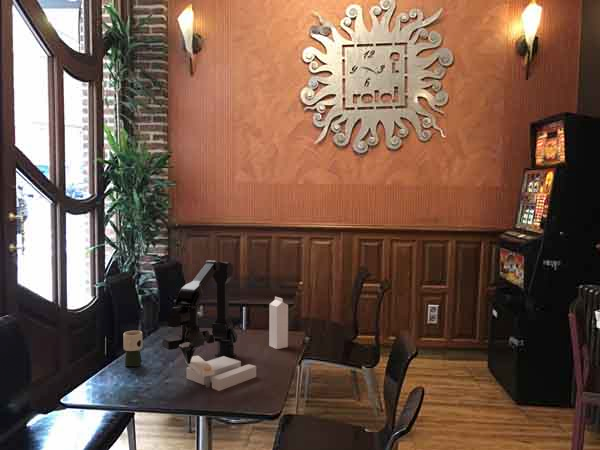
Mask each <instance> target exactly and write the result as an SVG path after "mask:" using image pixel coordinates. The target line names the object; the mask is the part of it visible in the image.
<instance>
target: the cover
mask: <svg viewBox="0 0 600 450" xmlns="http://www.w3.org/2000/svg"><path fill="white" fill-rule="evenodd" d="M184 360H185V359H184ZM185 363H186V364H187V362H186V360H185ZM187 366H188V367H191V368H192V369H194V370H195V371H196V372H197V373H198V374H199V375H200V376H201V375H202V376H203V377H206V376H211V375H215V370H214V368H213V367H212V366H211V365H209V364H208V363H207V362H206V361H205V360H204V359H203V358H202V357H201V356H199V355H193V356H192V359H191V361H190V364H187Z"/></svg>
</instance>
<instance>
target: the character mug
mask: <svg viewBox="0 0 600 450" xmlns="http://www.w3.org/2000/svg"><path fill="white" fill-rule="evenodd" d="M122 336H123V337H122V338H123V344H122V345H123V350H124V351H126V353H125V359H124V360H125V361H124V365H125V366H129V367H138V366H141V365H142V362H143V361H142V354H141V351H140V350H141V349H143V331H140V330H129V331H125V332H124V333H123V335H122Z"/></svg>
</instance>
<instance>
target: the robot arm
mask: <svg viewBox="0 0 600 450" xmlns="http://www.w3.org/2000/svg"><path fill="white" fill-rule="evenodd" d="M233 273H234V266H233V264H232V263H231V262H230V261H218V260H210V259H209V260H205V262H204V266H203V267H202V268H201V269H200V270H199V272H198V273H197V274H196V276H195V277H194V279H192V281H190V282H188V283H186V284H184V285H183V286H182V287H181V288H180V289H179V292H178V293H177V296H176V299H175V302H174V304H173V307H171V311H169V313H168V314H167V316H166V321H167V324H168V325H169V326H170V327H171V328H178V327H180V328H181V329H180V331H181V332H180V334H179V335H178V336H179V338H178V339H176V338H175V337H167V338H163V339H162V342H161V347H163V348H165V349H166V350H170V351H172V350H177V349H180V350H181V353H182V355H183V357H184V360H186V362H187V363H186V362H185V363H186V364H187V365H188V364H190V361H191V359H192V356H194V353H195V351H196V350H197V349H199V348H200V347H201V346H204V345H205V343H206V344H214V343H215V342H217V353H214V356H215V357H217V358H219V357H222V356H225V357H228V358H231V357H234V356H237V354H236V353H234V351H235V348H234V347H235V346H234V344H235V343H237V341H238V334H237V333H236V331H235V329H234V322H233V321H232V320H231V319H230V311H229V310H230V306H229V305H230V303H229V302H230V301H229V300H230V298H229V295H230V294H229V291H230V290H229V285H230V284H229V283H230V281H231V279H232V278H233ZM211 278H212V279H213V281H214V282H215V284H216V320H215V321H214V322H213V323H212V324H211V329H212V330H211V332H210V331H209V330H200V325H199V324H198V316H199V315H198V309H199V308H201V304H200V301H201V299H202V298H203V296H204V294H203V293H204V292H203V290H204V288H205V287H206V286H207V285H208V283H209V282H210V280H211Z"/></svg>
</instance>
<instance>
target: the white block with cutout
mask: <svg viewBox="0 0 600 450" xmlns="http://www.w3.org/2000/svg"><path fill="white" fill-rule="evenodd" d="M206 362H207V363H208V364H209V365H211V366H212V367H213V368H214V370H215V375H211V376H206V377H203V376H202V375H201V376H200V375H199V374H198V373H197V372H196V371H195V370H194V369H192V368H191V367H190V366H188V367H186V379H187V380H189V381H193V382H195V383H198V384H200V385H203V386H205V388H210V387H211V388H212V389H213V390H215V391H218V392H220V391H223V390H226V389H228V388H231V387H234V386H236V385H239V384H241V383H243V382H246V381H249V380H252V379H254V378H257V366H256V365H254V364H250V363H248V364H245V365H243V366H242V361H241V360H238V359H234V358H231V357H229V358H228V357H225V356H222V357H216V358H212V359H209V360H207V361H206ZM237 367H239V368H237ZM234 368H236V369H234ZM232 369H233V370H232ZM229 370H231V371H229ZM227 371H228V372H227ZM224 372H225V373H224Z"/></svg>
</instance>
